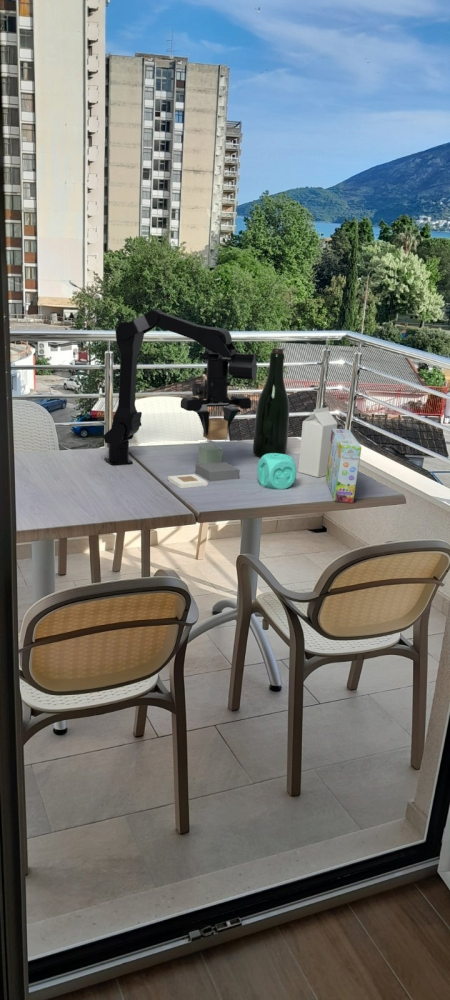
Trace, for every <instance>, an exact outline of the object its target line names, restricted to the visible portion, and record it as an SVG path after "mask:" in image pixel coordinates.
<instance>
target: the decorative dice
mask: <svg viewBox="0 0 450 1000" xmlns="http://www.w3.org/2000/svg"><path fill="white" fill-rule="evenodd" d="M256 473H257V474H256V476H257V479H258V483H259V484H260V486H262V487H263V488H265V489H266V488H267V489H269V490H270V489H271V490H286V489H289V488H290V487H291V486H292V485H293V484H294V482H295V481H296V478H297V465H296V462H295V460H294V458H293V457H292V456H291V455H288V454H286V455H285V454H279V453H269V454H265V455H263V456H262V457H260V458H259V460H258V463H257V468H256Z"/></svg>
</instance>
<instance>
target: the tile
mask: <svg viewBox="0 0 450 1000" xmlns="http://www.w3.org/2000/svg"><path fill="white" fill-rule="evenodd" d="M167 481H168V482H170V483H172V484H173V485H174V486H176V487H178V488H179V489H187V488H196V487H197V488H198V487H206V486H209V483H208V480H206V479H205V478H203V477H201V476H200V475H198V474H196V473H192V474H180V475H169V476H167Z"/></svg>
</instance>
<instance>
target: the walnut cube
mask: <svg viewBox="0 0 450 1000" xmlns="http://www.w3.org/2000/svg"><path fill="white" fill-rule="evenodd" d="M227 428H228V421H226V420H224V418H221V417H209V430H208V435H205V433H204V430H203V429H202V430H203V431H202V433H203V435H202V437H203V438H205V439H207V440H209V441H221V440H223V441H224V440H228V430H227ZM228 429H229V428H228Z"/></svg>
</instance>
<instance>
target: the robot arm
mask: <svg viewBox="0 0 450 1000" xmlns="http://www.w3.org/2000/svg"><path fill="white" fill-rule="evenodd" d="M156 327H157V328H160V329H163V330H166V331H169V332H171V333H175V334H178V335H179V336H183V337H186V338H188V339H191V340H194V341H195V342H196V343H197V344H199V345H200V346H202V347H203V348H205V350H204V352H203V354H201V355H200V356H199V357H198V358H199V359H200V360H206V379H204V384H203V385H201V383H199V382H198V383H196V382H195V383H193V384H192V388H191V389H192V391H191V392H192V396H187V397H186V396H185V397H182V399H181V400H180V408H181V409H183V410H186V411H188V412H195V413H197V416H198V418H199V421H200V423H201V425H202V430H204V433H205V435H208V430H209V418H210V411H209V410H207V409H208V407H210V408H211V407H214V408H215V407H222V411H223V419H224V420H226V421H228V428H227V431H228V430H229V428H230V426H231V424H232V422H233V420H234V419H235V417H236V416H237V414H238V413H241V410H247V409H249V410H250V409H252V400H251V398H250V397H248V396H245V395H231V397H228V388H229V387H230V385H231V384H230V381H229V375H230V376H231V377H232V379H236V380H237V379H238V380H250V381H254V380H255V379H256V377H257V374H258V373H257V372H258V365H257V359H256V353H240V352H239V351H238V349H237V348H236V346H235V344H234V343H233V341H232V340H233V339H232V335H231V333H230V331H229V330H227V328H221V327H215V326H214V327H213V326H205V325H200V324H197V323H194V322H193V321H188V320H185V319H183V318H181V317H177V316H175V315H172V314H170V313H166V312H164V311H162V310H161V309H153V310H149V311H148V312H147V313H145V314H143V315H141V316H139V317H137V318H135V319H133V320H129V321H123V322H120V323H119V324H118V325H117V326H116V328H115V338H116V339H115V341H116V345H117V349H118V351H119V355H120V360H119V362H120V363H119V380H118V381H119V382H118V384H119V385H118V403H117V404H118V405H117V408H116V410H115V412H114V414H113V417H112V418H113V419H112V422H111V423H112V424H111V428H110V429H109V430H108V431H107V432H106V433H105V434H103V435H102V436H103V439H104V443H105V444H108V457H105V458H103V459H104V461H105V460H106V461H105V462H106V463H108V464H109V465H112V466H116V465H117V464H119V465H130V464H133V463H134V462H133V461H132V460H131V459H129V455H130V454H129V453H130V451H129V450H130V446H129V445H130V440H132V439H133V438H134V435H136V433H138V431H139V430H140V427H142V422H141V421H142V412H141V411H138V410H137V408H136V391H137V390H136V389H137V388H136V387H137V373H138V372H137V371H138V370H137V368H138V355H139V353H140V350H141V348H142V345H143V341H144V336H145V334H147V333H148V332H150V331H152V330H153V329H155V328H156ZM197 396H198V397H197ZM239 408H240V409H239ZM117 466H118V465H117Z"/></svg>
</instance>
